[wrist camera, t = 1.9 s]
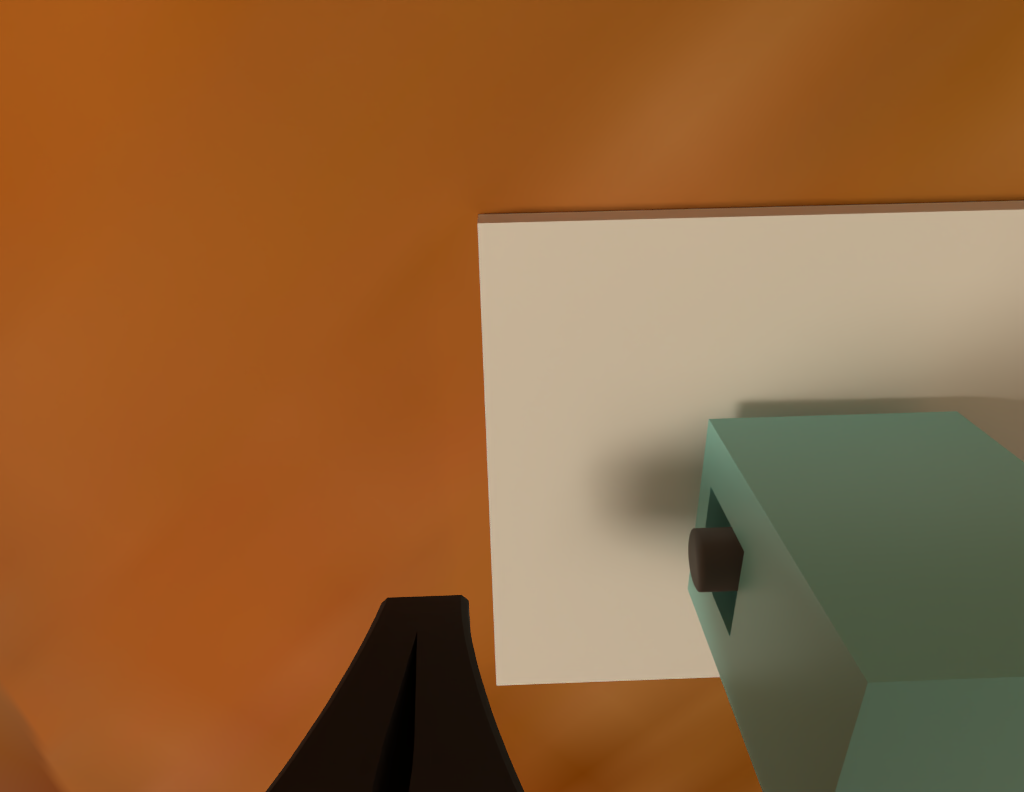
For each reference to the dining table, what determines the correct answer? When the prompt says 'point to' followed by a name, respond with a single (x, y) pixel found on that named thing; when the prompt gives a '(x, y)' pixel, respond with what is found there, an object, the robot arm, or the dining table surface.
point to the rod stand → (705, 392)
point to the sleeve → (870, 600)
